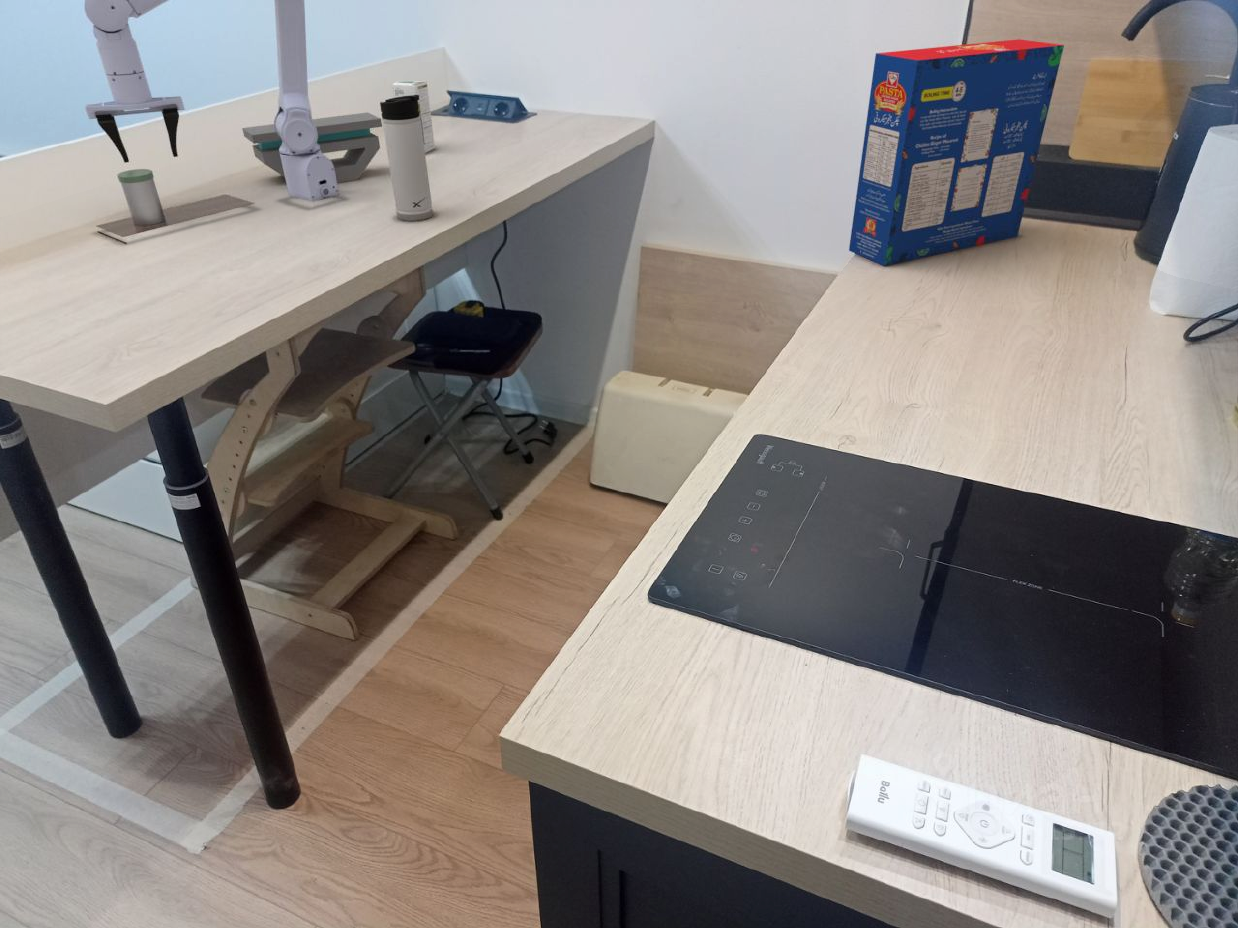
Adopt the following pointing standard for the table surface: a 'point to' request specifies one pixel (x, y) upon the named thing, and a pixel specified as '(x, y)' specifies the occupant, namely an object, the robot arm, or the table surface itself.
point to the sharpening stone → (326, 143)
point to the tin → (142, 196)
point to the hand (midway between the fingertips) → (151, 158)
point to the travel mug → (407, 157)
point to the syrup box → (424, 107)
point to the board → (176, 215)
